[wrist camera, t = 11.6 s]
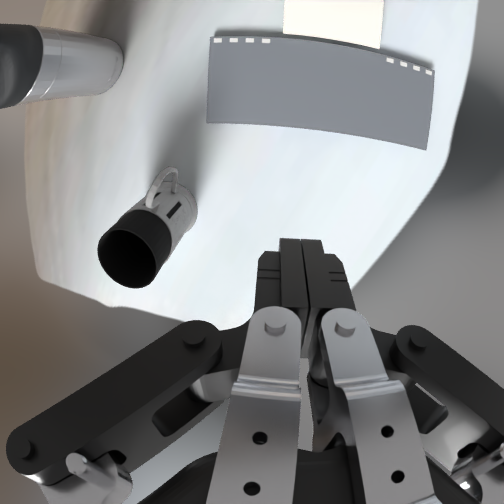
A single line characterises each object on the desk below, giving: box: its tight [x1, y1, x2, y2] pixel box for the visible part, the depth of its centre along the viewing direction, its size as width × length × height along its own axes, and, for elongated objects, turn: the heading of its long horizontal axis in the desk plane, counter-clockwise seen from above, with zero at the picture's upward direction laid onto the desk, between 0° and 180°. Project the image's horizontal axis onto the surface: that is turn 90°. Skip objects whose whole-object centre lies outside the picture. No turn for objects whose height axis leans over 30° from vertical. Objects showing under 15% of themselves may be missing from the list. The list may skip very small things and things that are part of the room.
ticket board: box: [207, 36, 435, 150], centre depth 31 cm, size 30×12×2 cm, turn 87°
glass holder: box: [98, 167, 197, 288], centre depth 35 cm, size 9×14×15 cm, turn 152°
